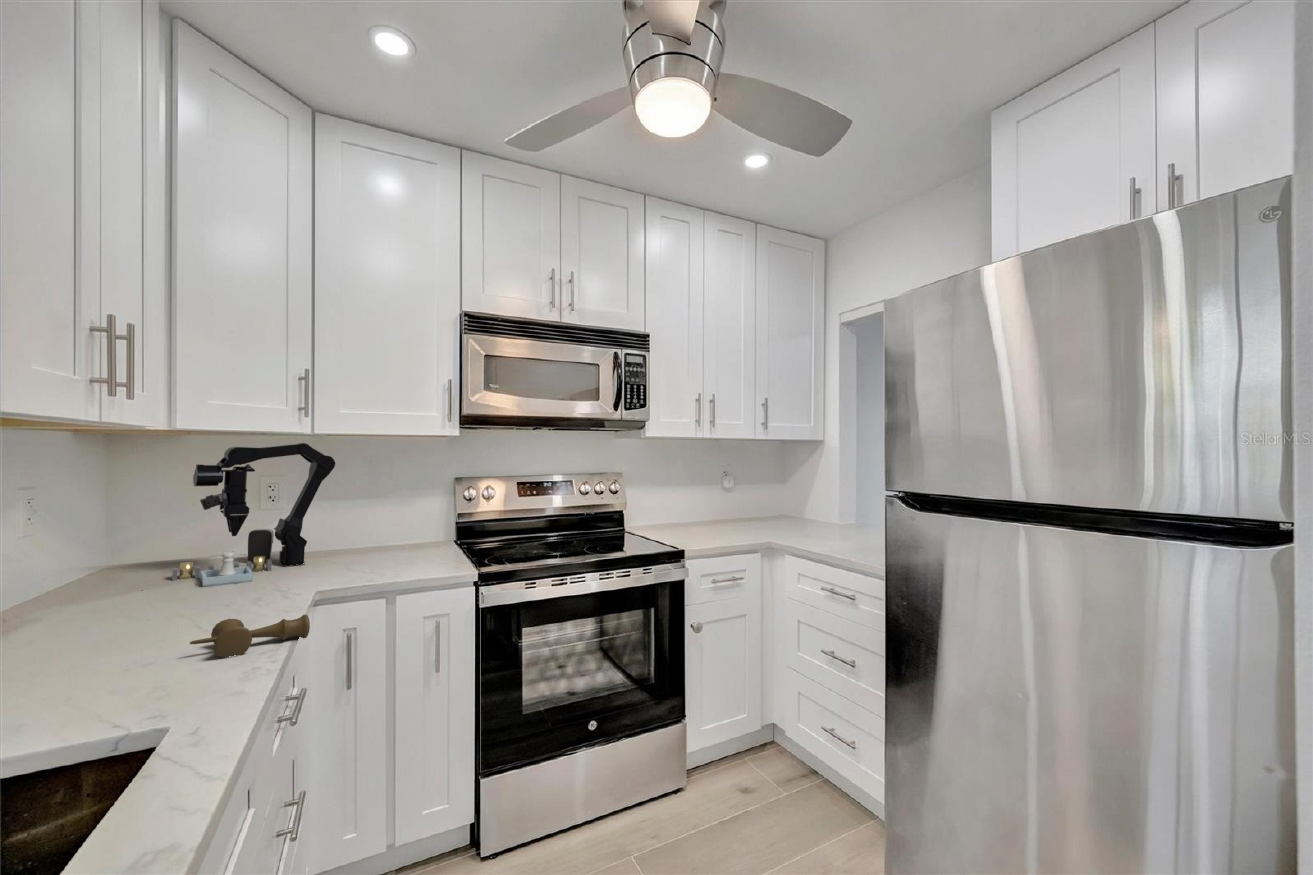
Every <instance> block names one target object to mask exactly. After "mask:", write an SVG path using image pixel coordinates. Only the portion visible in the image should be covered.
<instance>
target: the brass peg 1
mask: <svg viewBox="0 0 1313 875" xmlns="http://www.w3.org/2000/svg"><path fill="white" fill-rule="evenodd" d="M193 568H194V562H193V561H188V562H180V563H179V578H178V579H179V580H188V579H192V578H193V572H194V571H193V570H194V569H193Z"/></svg>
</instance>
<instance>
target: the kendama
mask: <svg viewBox="0 0 1313 875" xmlns="http://www.w3.org/2000/svg"><path fill="white" fill-rule="evenodd" d="M310 622H311V621H310V617H309V614H303V615H301V616H300V617H298V618H294V619H286V618H283V619H281V620H279V622H277V623H274V624H271V625H266V626H264V627H260V628H255V629H252V630H251V629H250V630H249V628H246V627H245V625H244V623H243V622H242V620H239V619H237V618H227V619H224V620H221V621H219V622H218V623H216V624H215V626H214V627H213V628H212V631H211V633H210V635H211V636H210V637H206V638H200V639H196V640H192V641H190V642H189V644H190V645H200V644H208V643H213V647H214V652H215V654H216V655H217V656H218V657H220V658H223V659H225V658H224V657H229V656H234V655H240V656H241V655H244V654H245V653H246V652H247V651H249V650H248V649H250V647H251V646H252V642H253V639H257V638H260V639H261V638H277V639H280V640H282V641H285V640H286V639H288V638H291V637H299V638H301V639H306V638H307V637H308V636H309V633H310V628H311V626H310V624H311V623H310Z"/></svg>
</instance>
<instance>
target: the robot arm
mask: <svg viewBox="0 0 1313 875" xmlns="http://www.w3.org/2000/svg"><path fill="white" fill-rule="evenodd" d="M297 455H299V456H300V457H302V459H304V460H305V461H307V462H308V463H310V465H309V469H308V477H307V479H306V481H305V483H304V485H303V487H302V489H301V491H300V493H299V494H298V497H297V499H296V501H295V503H294V505H293V507H292V508H291V510H290V512H289V514H288V516H286V517H285V518H279V519H278V523H277V525H276V526H274V528H273V530H275V531H274V537H275V539H276V540H277V541H279V542H280V544H281V550H280V551H279V557H278V563H279V564H280V566H282V567H290V566H289V565H293V566H297V565H296V564H303V563H305V564H306V562H305V552H306V550H305V549H306V546H307V543H308V541H307V540H306V539H305V538H304V537H303V536H301V532H302V530H303V522H304V518H305V516H306V514H307V513H308V510H309V508H310V506H311V504H312V502H313V500H314V498H315V496H316V494H317V492H318V491H319V488H320V486H321V484H322V482H323V481H324V480H325V479H326V478H327V477H329V475H330V474H331V472H332V471H333V469H334V468H335V467H336V461H335V459H334V458H333V457H332V456H330V455H325V454H324V453H322V452H321V451H319V450H317V449H316V448H313V447H312V446H310V445H309V444H308V443H306V442H305V443H304V442H300V443H299V442H298V443H294V444H285V445H283V444H282V445H275V446H264V447H250V446H249V447H247V446H232V447H229V448H227V449H226V450H225V451H224V455H223V457H222V458H221V459H220V461H218V462H217V463H216V464H202V463H201V464H200V463H199V464H196V465H195V468H194V474H193V475H192V481H193V482H192V484H193V487H218V486H219V484H222V483H223V488H222V489H221V493H219V494H214V495H213V494H210V495H207V496H205V497H204V498H200V499H199V502H200V504H201V506H202V508H203V510H210V509H211V508H214V507H217V506H219V512H220V513H222V514H223V516H224V517H225V519H226V522H227V527H228V532H229V533H231V537H236V536H237V535H238V533H239V532H240V530H241V528H242V527H243V524H245V521H246V519H247V517H248V516H249V514H250V507H249V506H248V505H247V500H246V497H247V493H248V489H247V483H248V482H247V479H248V473H249V472H251V473H252V472H255V471H256V470H255V469H254V468H253V467H252V466H251V464H250V463H253V462H256V461H259V460H260V461H261V460H263V459H271V458H280V457H288V456H297ZM236 465H237V466H236ZM242 465H244V466H242ZM230 468H231V469H230Z"/></svg>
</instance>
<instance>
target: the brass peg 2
mask: <svg viewBox="0 0 1313 875" xmlns="http://www.w3.org/2000/svg"><path fill="white" fill-rule="evenodd" d="M263 570H264V571H265V570H266V562H265V556H256V557H254V563H252V572H253V573H257V572H259V571H260V572H264V571H263Z"/></svg>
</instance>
